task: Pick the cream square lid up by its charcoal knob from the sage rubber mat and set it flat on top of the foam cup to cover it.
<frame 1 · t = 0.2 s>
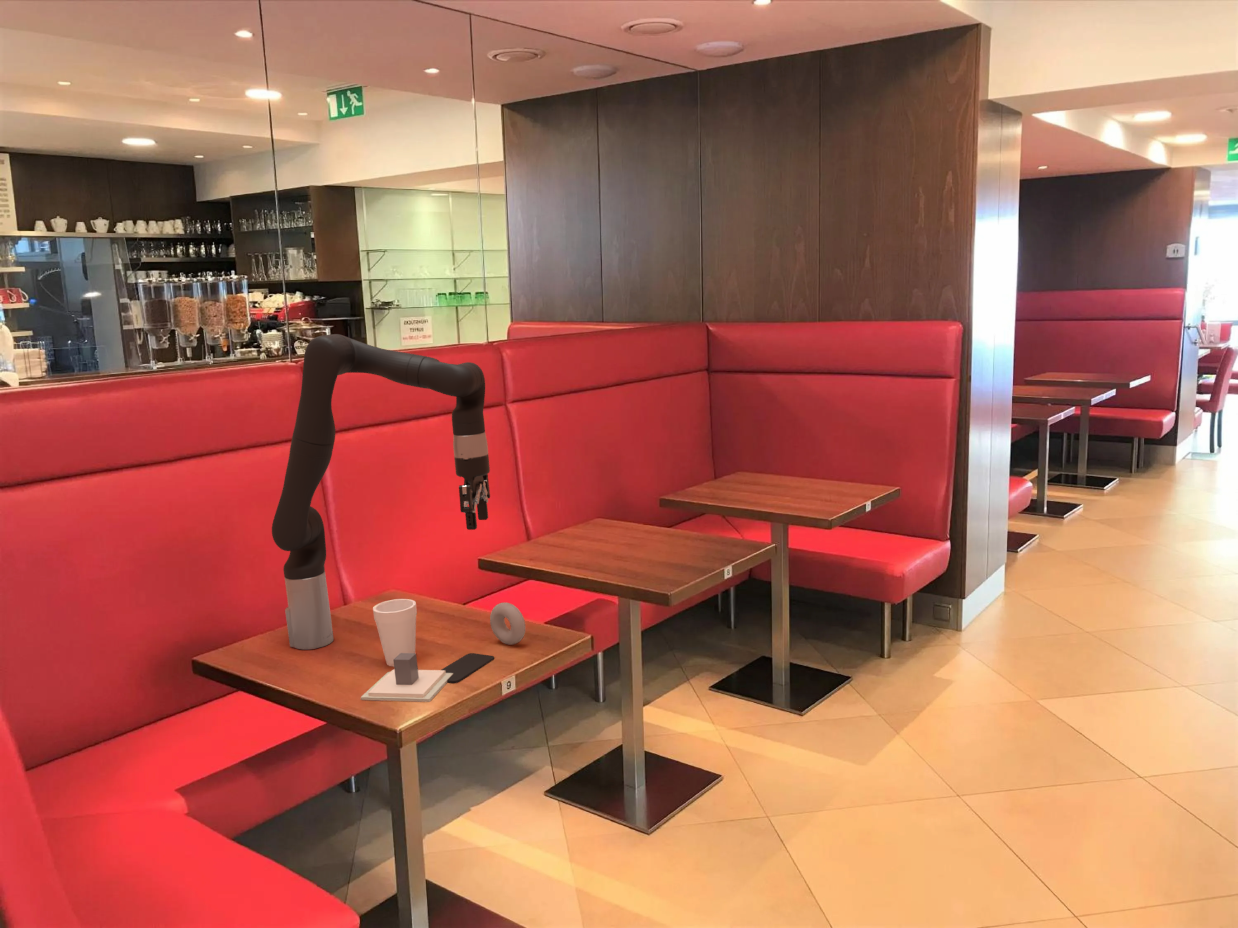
hand: (477, 524, 218), 29 cm above the table, tool pointing down, fingers open, 8 cm apart
mat: (408, 687, 202), on the table
foam cup: (400, 661, 217), on the table
phone: (463, 670, 211), on the table
lid: (408, 684, 202), point 1 cm above the table, touching mat
donut: (509, 644, 223), on the table
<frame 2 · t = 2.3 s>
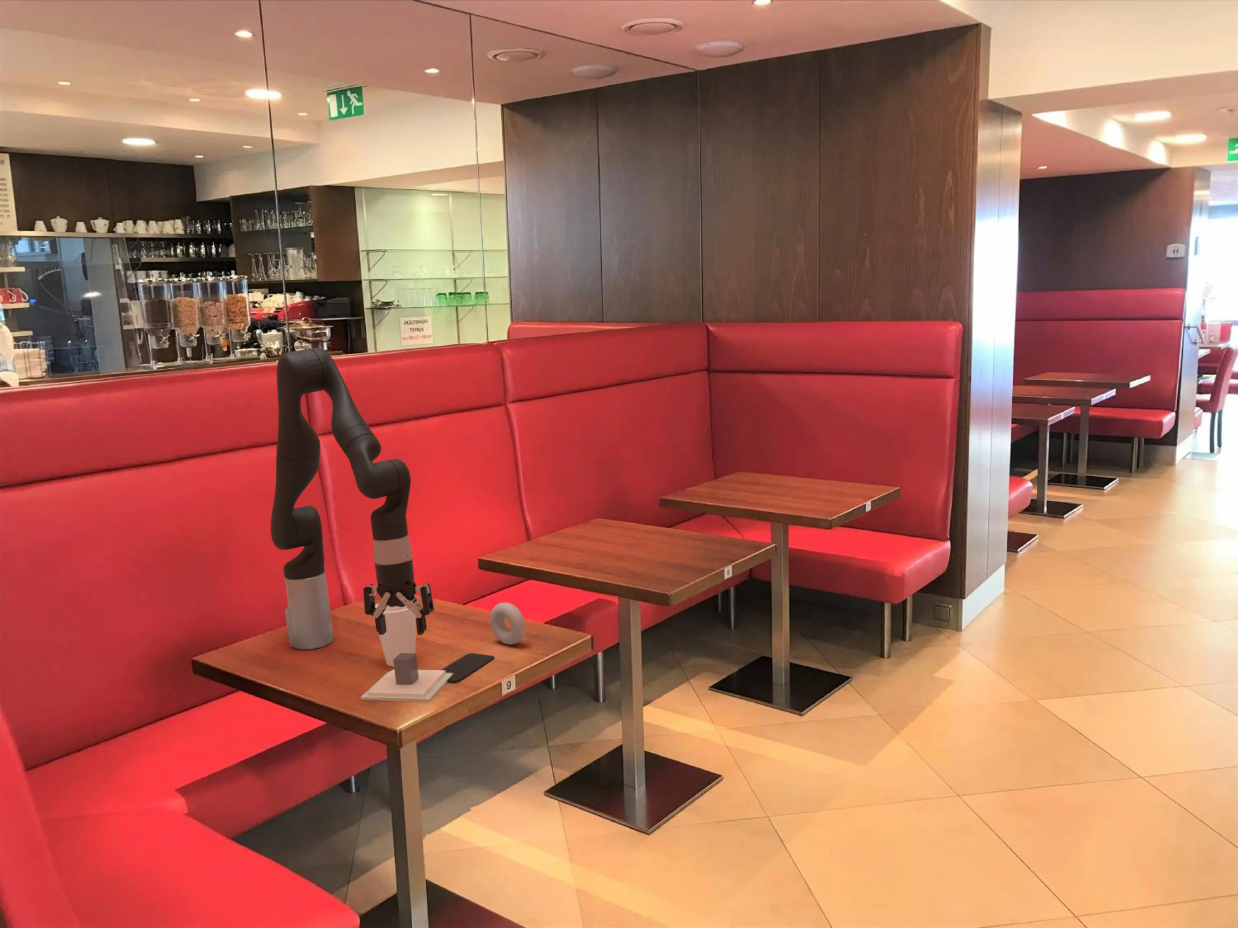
hand: (402, 633, 200), 12 cm above the table, tool pointing down, fingers open, 8 cm apart
nothing on the table moved.
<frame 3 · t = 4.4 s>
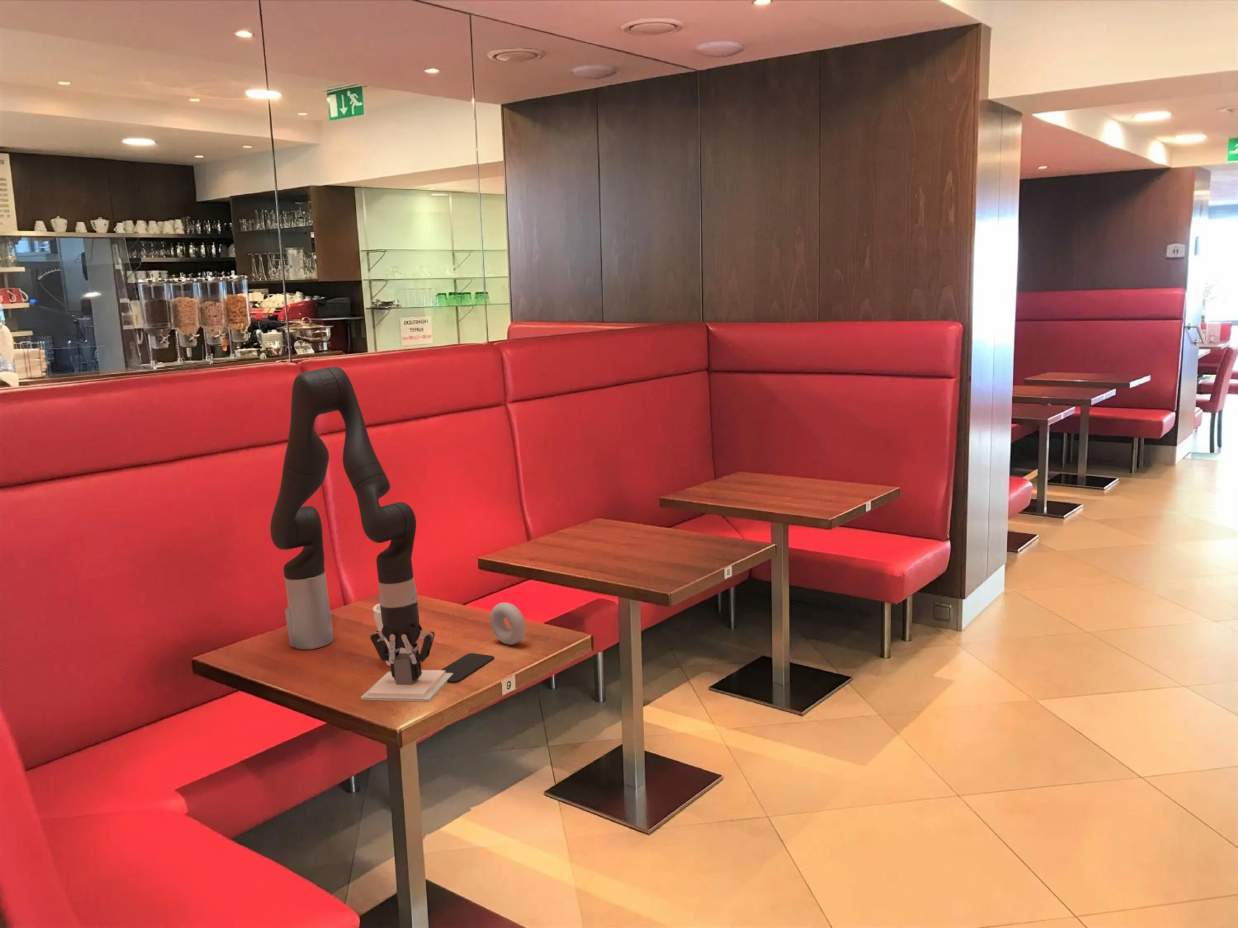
hand: (407, 678, 202), 2 cm above the table, tool pointing down, fingers closed on lid, 3 cm apart
lid: (407, 684, 202), point 1 cm above the table, touching gripper, mat
everything else where it was.
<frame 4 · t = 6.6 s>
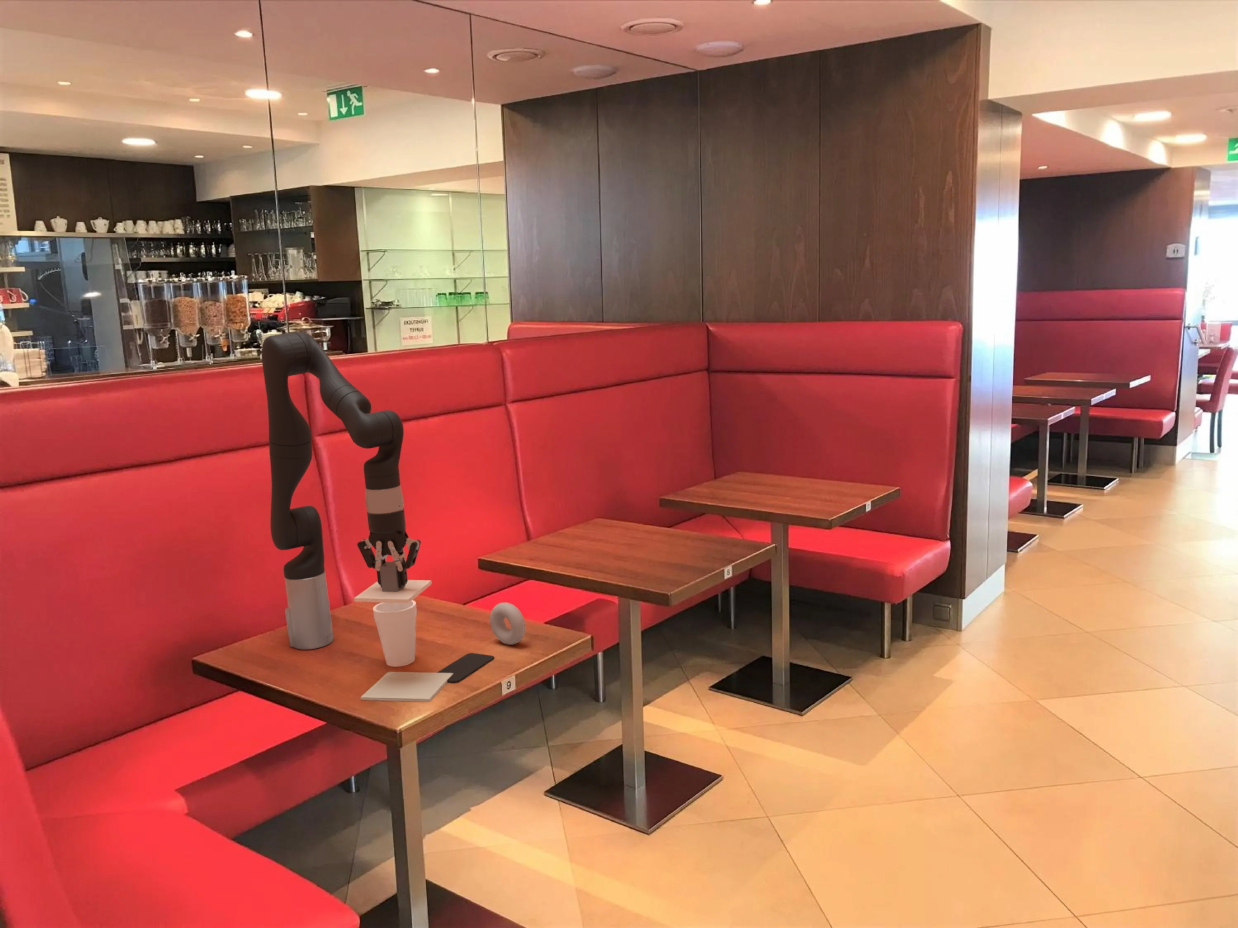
hand: (393, 586, 204), 20 cm above the table, tool pointing down, fingers closed on lid, 3 cm apart
lid: (393, 592, 204), point 19 cm above the table, touching gripper
everything else where it was.
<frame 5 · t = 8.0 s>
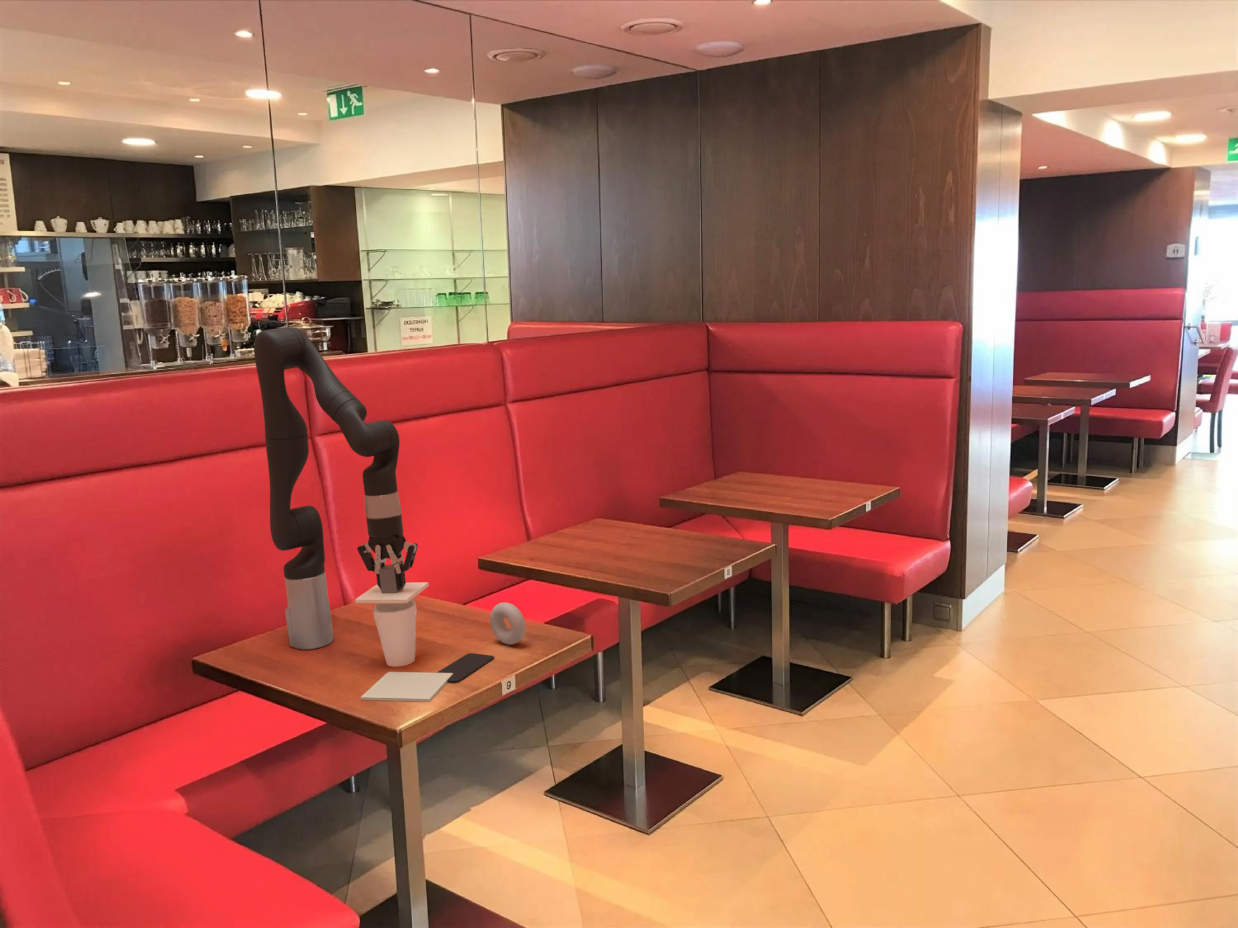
hand: (392, 588, 214), 17 cm above the table, tool pointing down, fingers closed on lid, 3 cm apart
lid: (392, 594, 214), point 16 cm above the table, touching gripper
everything else where it was.
when the fingers open (16 cm above the table, at t = 8.9 s): lid drops 1 cm, resting on foam cup.
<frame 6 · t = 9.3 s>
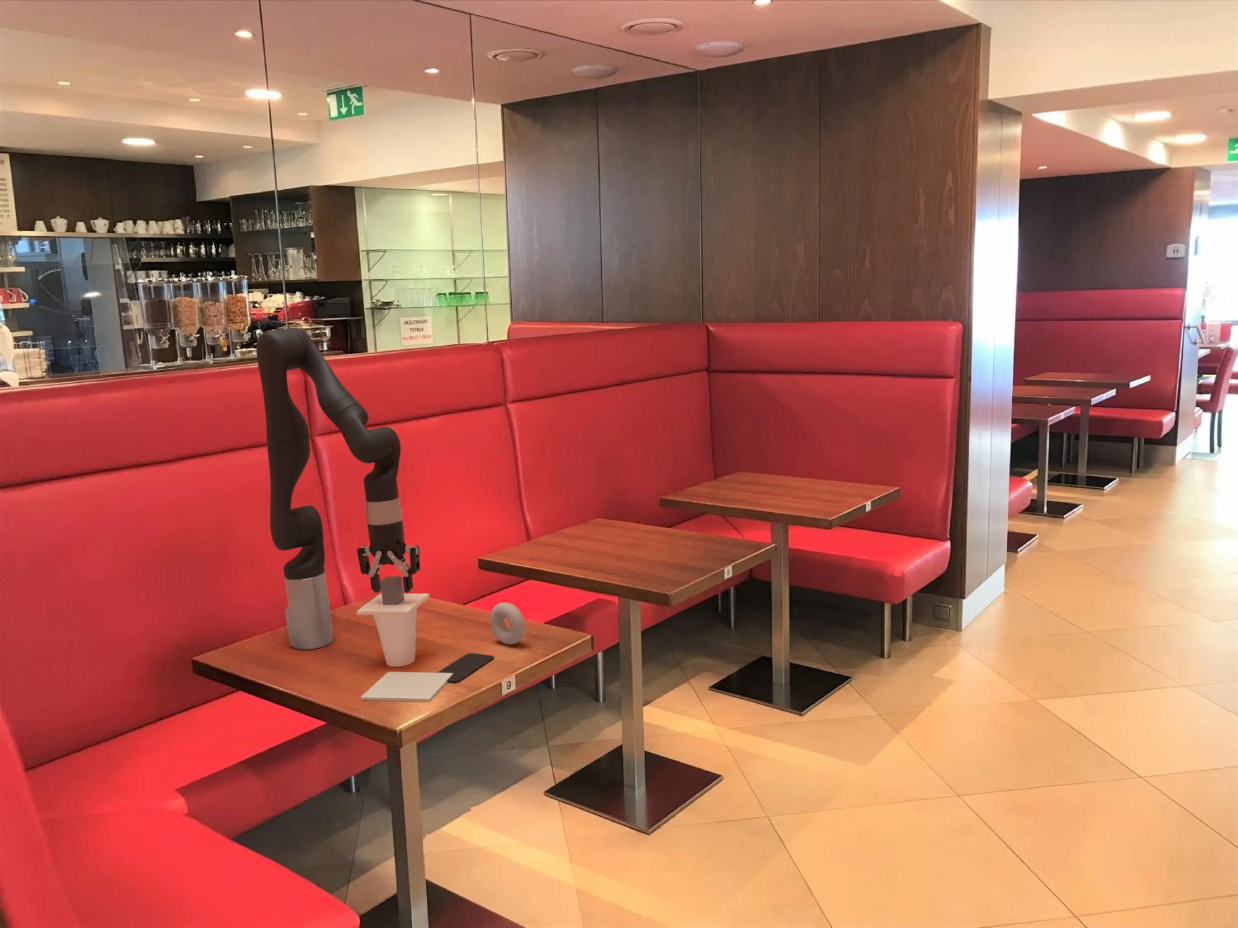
hand: (392, 591, 214), 16 cm above the table, tool pointing down, fingers open, 6 cm apart
foam cup: (400, 661, 217), on the table, touching lid
lid: (394, 605, 215), point 13 cm above the table, touching foam cup
everything else where it was.
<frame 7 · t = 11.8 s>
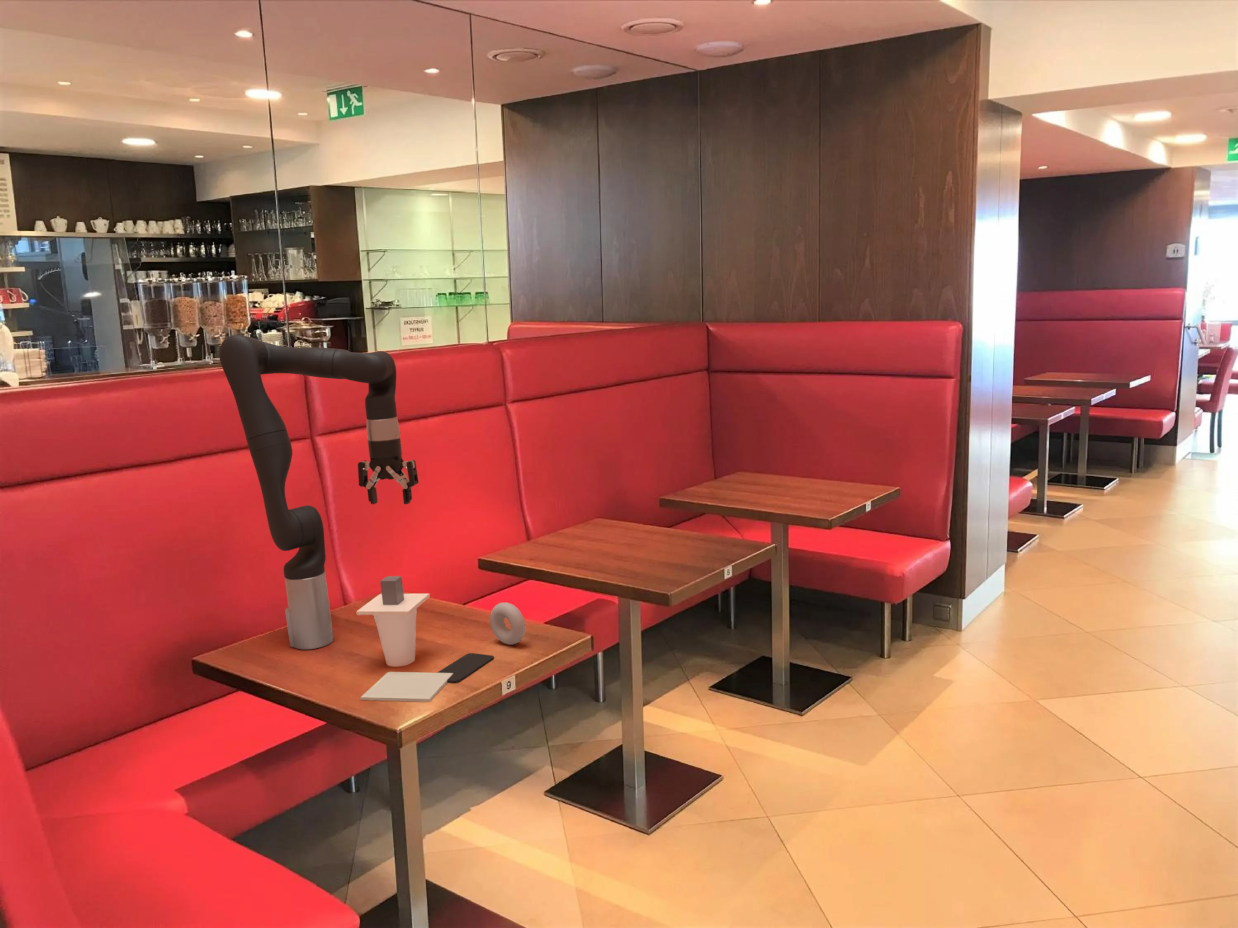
hand: (390, 503, 231), 32 cm above the table, tool pointing down, fingers open, 8 cm apart
nothing on the table moved.
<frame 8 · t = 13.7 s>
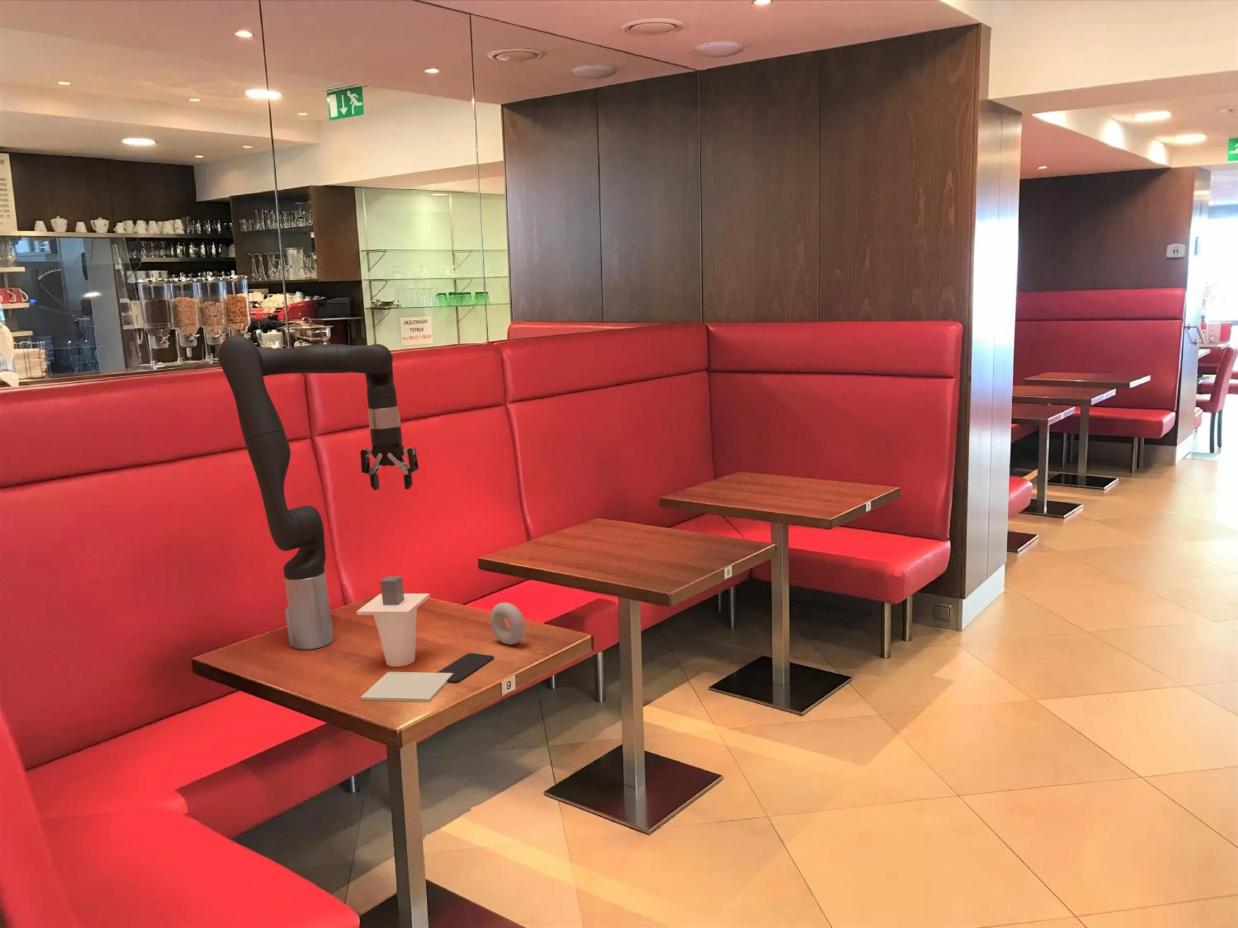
hand: (392, 489, 243), 33 cm above the table, tool pointing down, fingers open, 8 cm apart
nothing on the table moved.
at the end: lid 0.1 cm from the foam cup (horizontally); lid point 13.0 cm above the table; foam cup tilted 0° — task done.
